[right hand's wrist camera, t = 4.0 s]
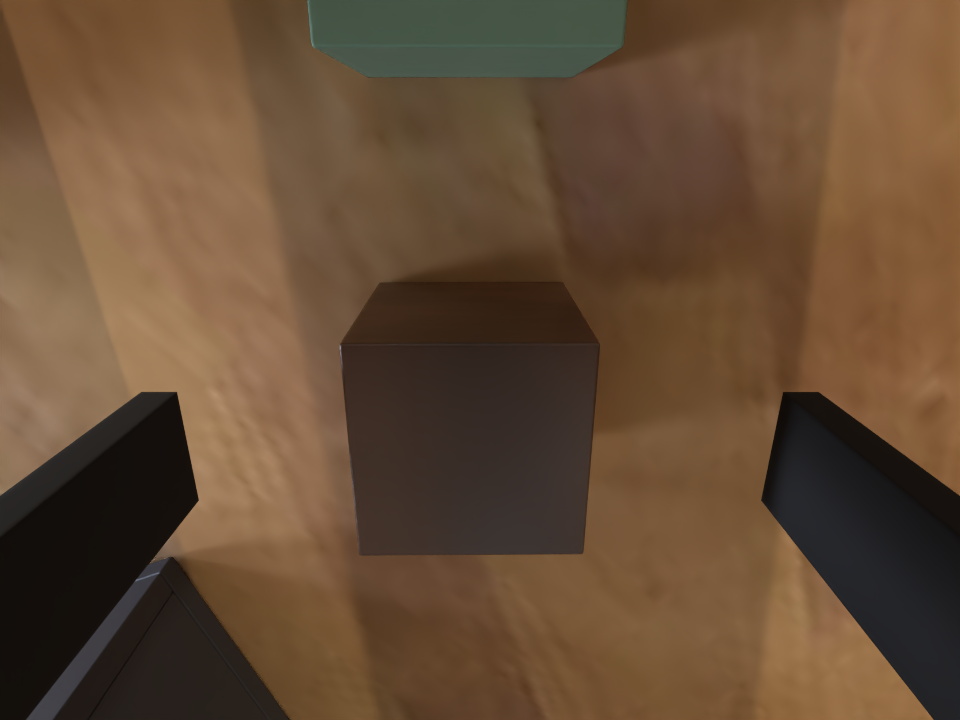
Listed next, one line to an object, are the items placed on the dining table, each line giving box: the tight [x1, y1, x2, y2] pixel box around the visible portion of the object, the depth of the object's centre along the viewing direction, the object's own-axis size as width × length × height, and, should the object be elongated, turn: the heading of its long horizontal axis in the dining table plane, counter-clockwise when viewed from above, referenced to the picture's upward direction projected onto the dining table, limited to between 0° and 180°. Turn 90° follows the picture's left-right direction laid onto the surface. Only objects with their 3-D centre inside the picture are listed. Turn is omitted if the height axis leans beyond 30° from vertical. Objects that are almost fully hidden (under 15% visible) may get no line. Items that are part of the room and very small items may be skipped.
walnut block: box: [340, 282, 600, 555], centre depth 14 cm, size 5×5×5 cm
